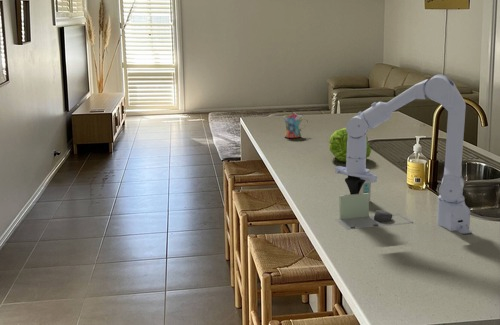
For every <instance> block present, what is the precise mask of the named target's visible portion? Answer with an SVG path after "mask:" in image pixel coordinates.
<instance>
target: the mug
mask: <svg viewBox="0 0 500 325" xmlns="http://www.w3.org/2000/svg"><path fill="white" fill-rule="evenodd" d="M283 119H284V122H285V133H284V137H285V138H288V139H297V138H300V137H301V136H302V134H301V132H302V129H304V128H305V127H306V126H307V124H308V119H307V118H303V116H302V114H301V115H300V114H285V115H283ZM303 120H306V122H305V125H304V126H302V127H301V128H300V125H301V123H302V121H303Z"/></svg>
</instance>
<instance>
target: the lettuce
mask: <svg viewBox="0 0 500 325" xmlns="http://www.w3.org/2000/svg"><path fill="white" fill-rule="evenodd" d="M347 141H348V133H347V131H346V127H344V128H340V129H338V130H335V131H334V132H333V133H332V134H331V135H330V138H329V142H328V150H329V152H331V153H332V155H333V156H334V157H335V158H336V159H337V160H338V161H340V162H342V163H343V162H344V163H346V158H347ZM366 141H367V147H366V159H367V158H369V157H370V156H371V152H372V149H371V146H370V144H369V139H368V135H366Z"/></svg>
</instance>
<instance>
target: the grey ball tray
mask: <svg viewBox="0 0 500 325" xmlns="http://www.w3.org/2000/svg"><path fill="white" fill-rule="evenodd" d="M391 214H392V213H391ZM374 216H375V215H372V216H370V215H369V217H358V218H347V219H340V218H339V219H338V218H337V219H336V222H338V223H339V224H340V225H341V226H343V227H344V228H345V229H346V230H353V229H354V230H356V229H367V228H374V227H375V228H377V227H386V226H397V225H398V226H399V225H407V224H414V222H413V221H412V220H410V219H408V218H407V217H406V216H404V215H403V214H401V213H393V214H392V216H400V217H401V218H403V219H404V220H405V221H408V222H399V223H389V224H388V223H387V224H381V222H378V221H375V220H374Z"/></svg>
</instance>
